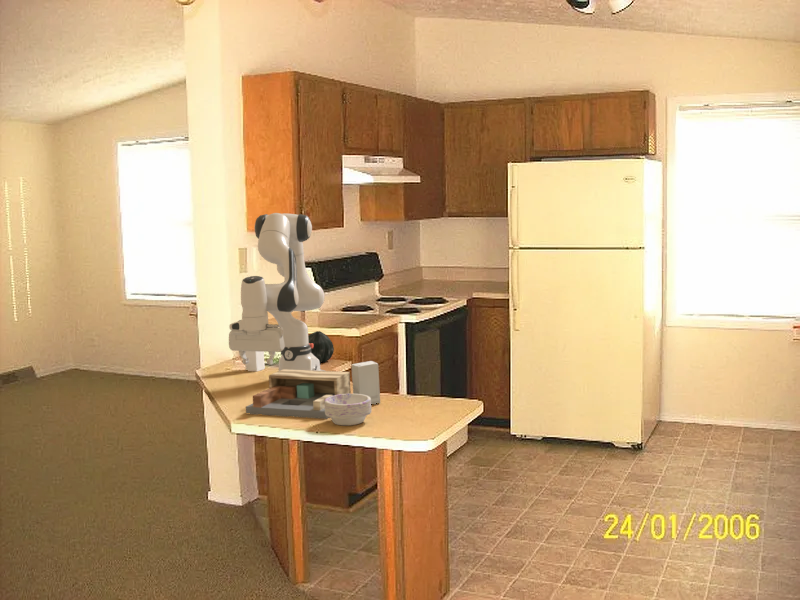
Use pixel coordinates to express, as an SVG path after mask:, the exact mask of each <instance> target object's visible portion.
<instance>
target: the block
mask: <svg viewBox="0 0 800 600" xmlns="http://www.w3.org/2000/svg"><path fill="white" fill-rule="evenodd" d="M313 396H314V383H301V384H299V385H297V398H307V399H309V398H311V397H313Z"/></svg>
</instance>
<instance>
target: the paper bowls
mask: <svg viewBox="0 0 800 600" xmlns="http://www.w3.org/2000/svg"><path fill="white" fill-rule="evenodd" d="M324 404H325V415H326V416H327V417H329V418H330V419H331V421H332V423H333V424H335V425H338V426H354V425H356V426H357V425H359V424H361V423H363V422H364V421H365V420H366V417H367V416H368V415H370V414H371V413H372V405H371V398H370V397H369V396H367V395H363V394H353V393H351V394H339V395H334V396H330V397H328V398H326V399H325V403H324ZM329 418H328V419H329Z"/></svg>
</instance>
